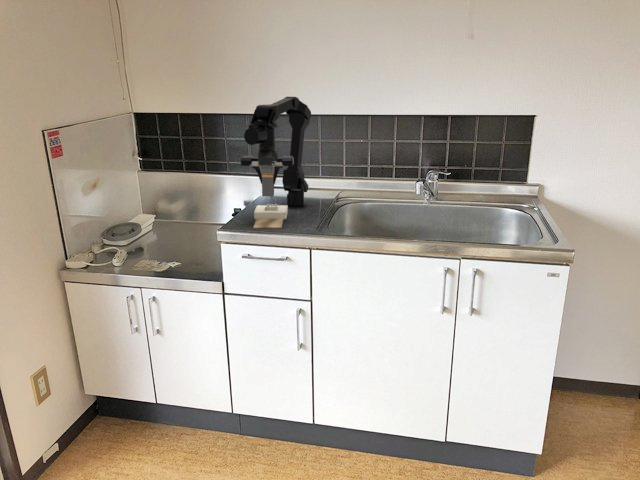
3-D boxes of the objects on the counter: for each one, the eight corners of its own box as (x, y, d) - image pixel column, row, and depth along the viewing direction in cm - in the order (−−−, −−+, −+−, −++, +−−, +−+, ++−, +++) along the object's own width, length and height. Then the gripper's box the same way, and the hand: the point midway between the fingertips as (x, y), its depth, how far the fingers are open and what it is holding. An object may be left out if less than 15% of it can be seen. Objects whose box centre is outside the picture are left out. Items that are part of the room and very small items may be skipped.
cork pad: (283, 219, 201) (283, 218, 201) (281, 228, 191) (281, 227, 191) (256, 219, 201) (256, 218, 201) (253, 228, 191) (253, 227, 191)
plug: (274, 194, 200) (274, 172, 198) (273, 196, 196) (273, 175, 194) (263, 193, 200) (263, 172, 198) (262, 196, 196) (261, 174, 194)
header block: (287, 211, 211) (287, 203, 210) (286, 218, 202) (286, 210, 200) (257, 211, 211) (256, 203, 210) (254, 219, 202) (253, 210, 201)
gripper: (237, 144, 185) (239, 188, 190) (291, 144, 184) (292, 189, 189) (242, 139, 195) (244, 182, 200) (293, 140, 195) (294, 182, 200)
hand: (268, 184), depth 197 cm, fingers closed on plug, 4 cm apart
